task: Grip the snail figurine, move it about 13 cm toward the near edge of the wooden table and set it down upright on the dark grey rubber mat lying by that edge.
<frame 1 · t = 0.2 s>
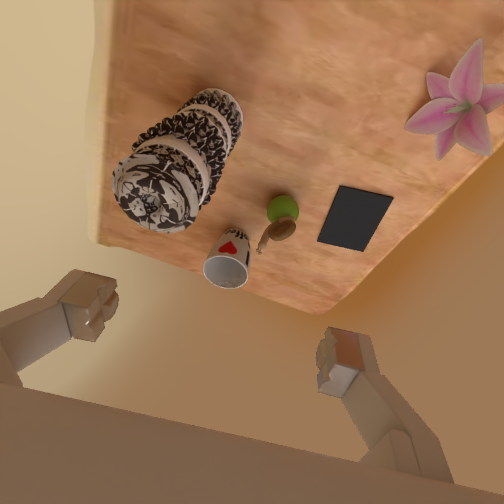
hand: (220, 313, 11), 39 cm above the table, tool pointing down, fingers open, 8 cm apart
lily: (444, 98, 39), on the table
black-white patterned cylinder: (216, 118, 44), on the table
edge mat: (352, 220, 52), on the table
snail figurine: (281, 203, 52), on the table
cup: (236, 237, 59), on the table
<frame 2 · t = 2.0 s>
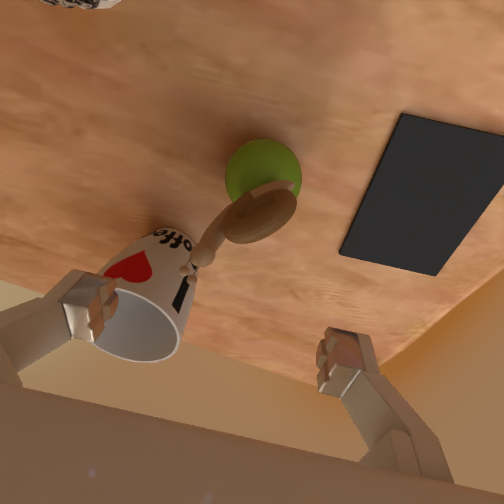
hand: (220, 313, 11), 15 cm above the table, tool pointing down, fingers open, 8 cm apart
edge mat: (420, 205, 23), on the table
snail figurine: (261, 168, 23), on the table
cup: (173, 248, 29), on the table
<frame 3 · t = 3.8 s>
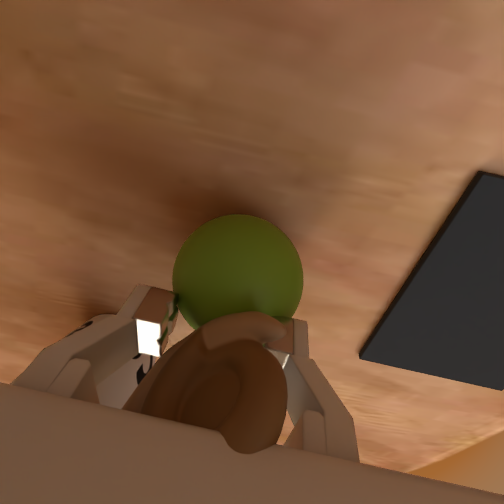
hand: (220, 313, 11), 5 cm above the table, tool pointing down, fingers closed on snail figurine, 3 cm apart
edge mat: (490, 302, 15), on the table
snail figurine: (241, 245, 15), on the table, touching gripper
cup: (122, 337, 21), on the table
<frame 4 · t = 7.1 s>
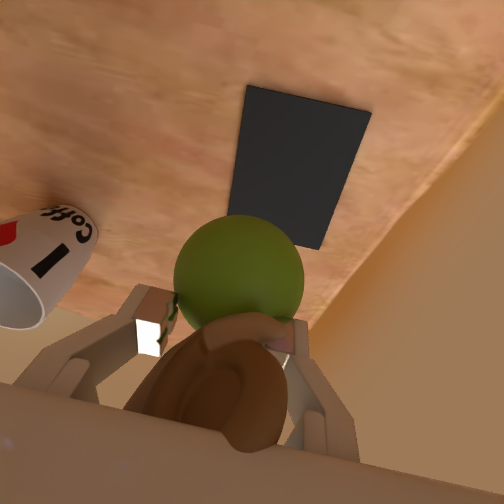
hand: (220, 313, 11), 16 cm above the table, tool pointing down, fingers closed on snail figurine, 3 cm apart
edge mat: (288, 178, 24), on the table
snail figurine: (242, 245, 15), point 11 cm above the table, touching gripper
cup: (74, 226, 30), on the table
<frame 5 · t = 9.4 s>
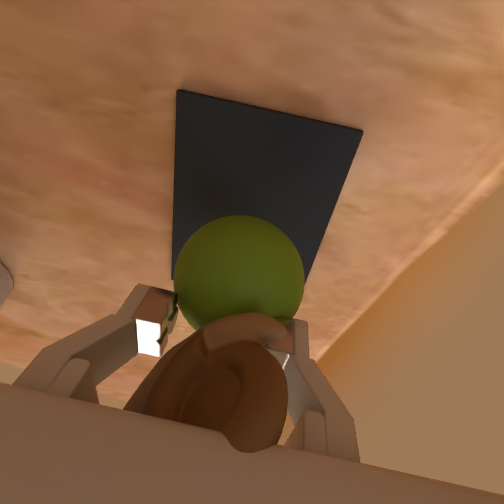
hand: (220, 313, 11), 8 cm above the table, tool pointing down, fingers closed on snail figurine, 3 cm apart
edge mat: (249, 217, 17), on the table
snail figurine: (242, 246, 15), point 3 cm above the table, touching gripper
when the fingers open (5 cm above the table, at t = 10.6 s): snail figurine stays where it is, resting on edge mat.
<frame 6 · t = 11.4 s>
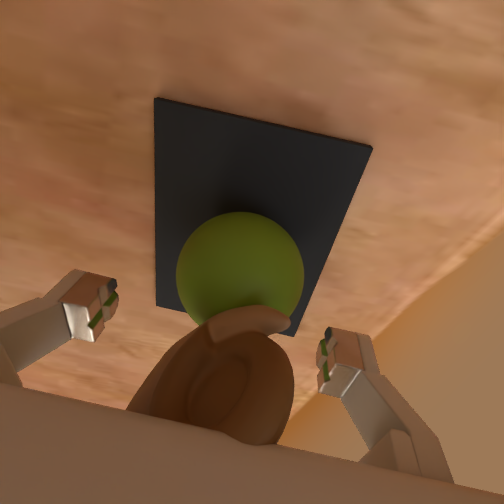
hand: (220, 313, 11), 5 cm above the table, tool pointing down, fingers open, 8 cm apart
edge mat: (241, 241, 15), on the table
snail figurine: (241, 243, 15), resting on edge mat
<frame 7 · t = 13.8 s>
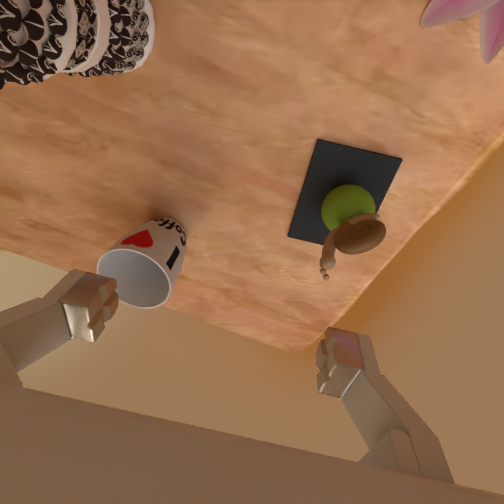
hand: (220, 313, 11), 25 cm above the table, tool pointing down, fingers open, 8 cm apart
black-white patterned cylinder: (112, 19, 27), on the table
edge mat: (339, 200, 34), on the table
snail figurine: (339, 201, 34), resting on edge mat
cup: (168, 233, 40), on the table
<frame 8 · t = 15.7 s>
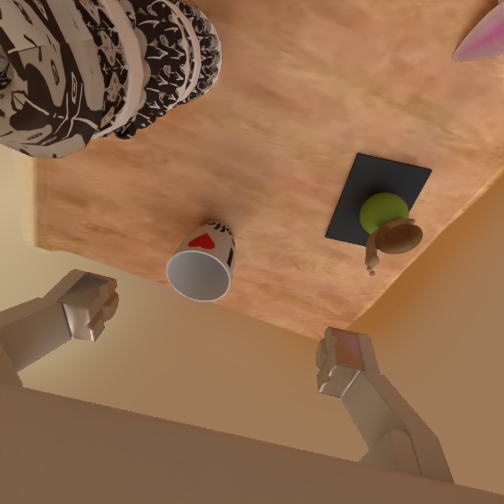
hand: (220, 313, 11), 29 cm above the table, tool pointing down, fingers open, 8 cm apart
black-white patterned cylinder: (184, 53, 32), on the table
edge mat: (373, 205, 38), on the table
snail figurine: (374, 206, 38), resting on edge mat
cup: (216, 234, 44), on the table
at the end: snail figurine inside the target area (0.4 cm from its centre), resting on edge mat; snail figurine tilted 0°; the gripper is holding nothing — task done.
